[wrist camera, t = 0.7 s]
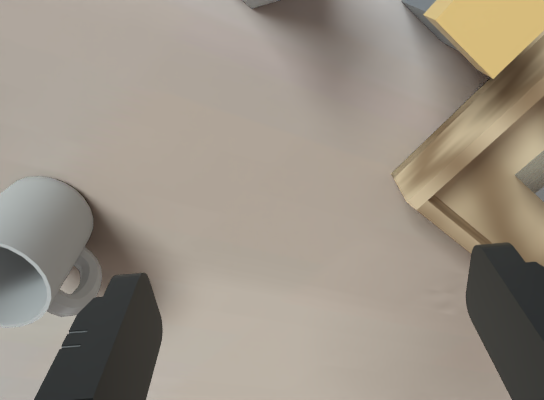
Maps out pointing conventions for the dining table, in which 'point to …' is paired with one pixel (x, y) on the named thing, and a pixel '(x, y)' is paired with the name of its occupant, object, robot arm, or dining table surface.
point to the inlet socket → (534, 175)
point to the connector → (483, 28)
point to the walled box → (486, 163)
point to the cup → (44, 251)
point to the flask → (258, 2)
